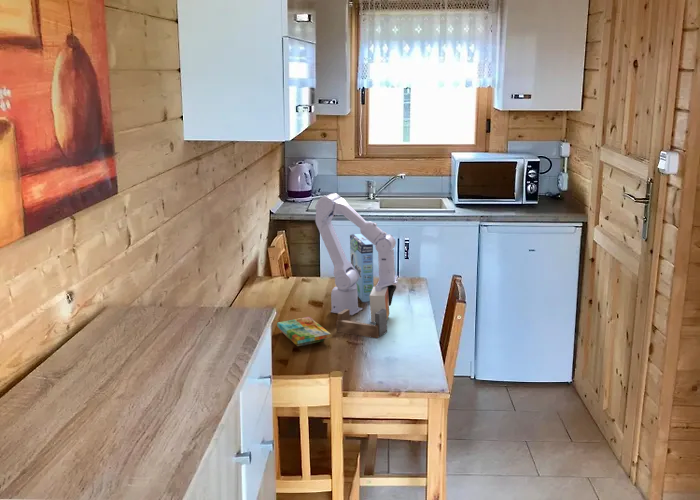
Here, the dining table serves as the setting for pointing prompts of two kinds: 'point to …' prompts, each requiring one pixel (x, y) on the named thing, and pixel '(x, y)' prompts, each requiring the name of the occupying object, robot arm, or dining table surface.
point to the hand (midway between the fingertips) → (387, 305)
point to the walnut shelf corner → (355, 326)
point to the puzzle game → (303, 331)
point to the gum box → (362, 265)
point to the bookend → (381, 321)
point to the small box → (379, 302)
